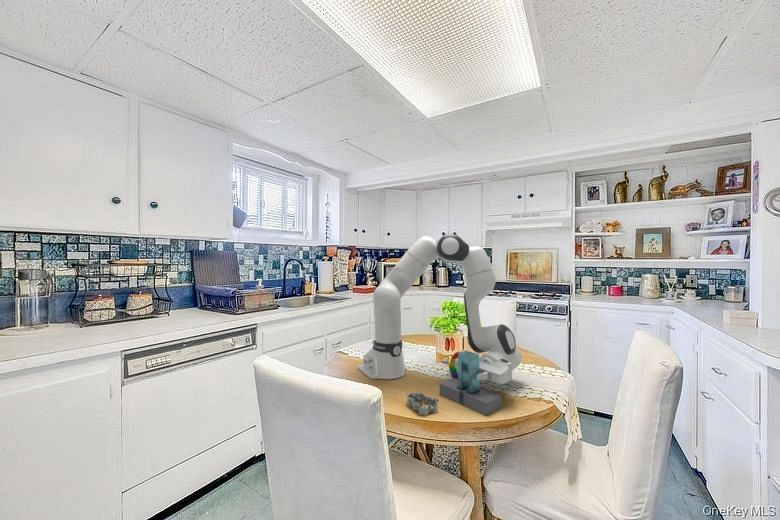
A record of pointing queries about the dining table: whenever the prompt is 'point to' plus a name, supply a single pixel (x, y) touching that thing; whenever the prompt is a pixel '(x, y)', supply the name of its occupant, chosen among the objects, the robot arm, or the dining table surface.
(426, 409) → the egg carton
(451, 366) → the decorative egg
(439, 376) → the dining table surface
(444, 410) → the dining table surface
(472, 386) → the clip
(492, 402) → the grey slotted block
